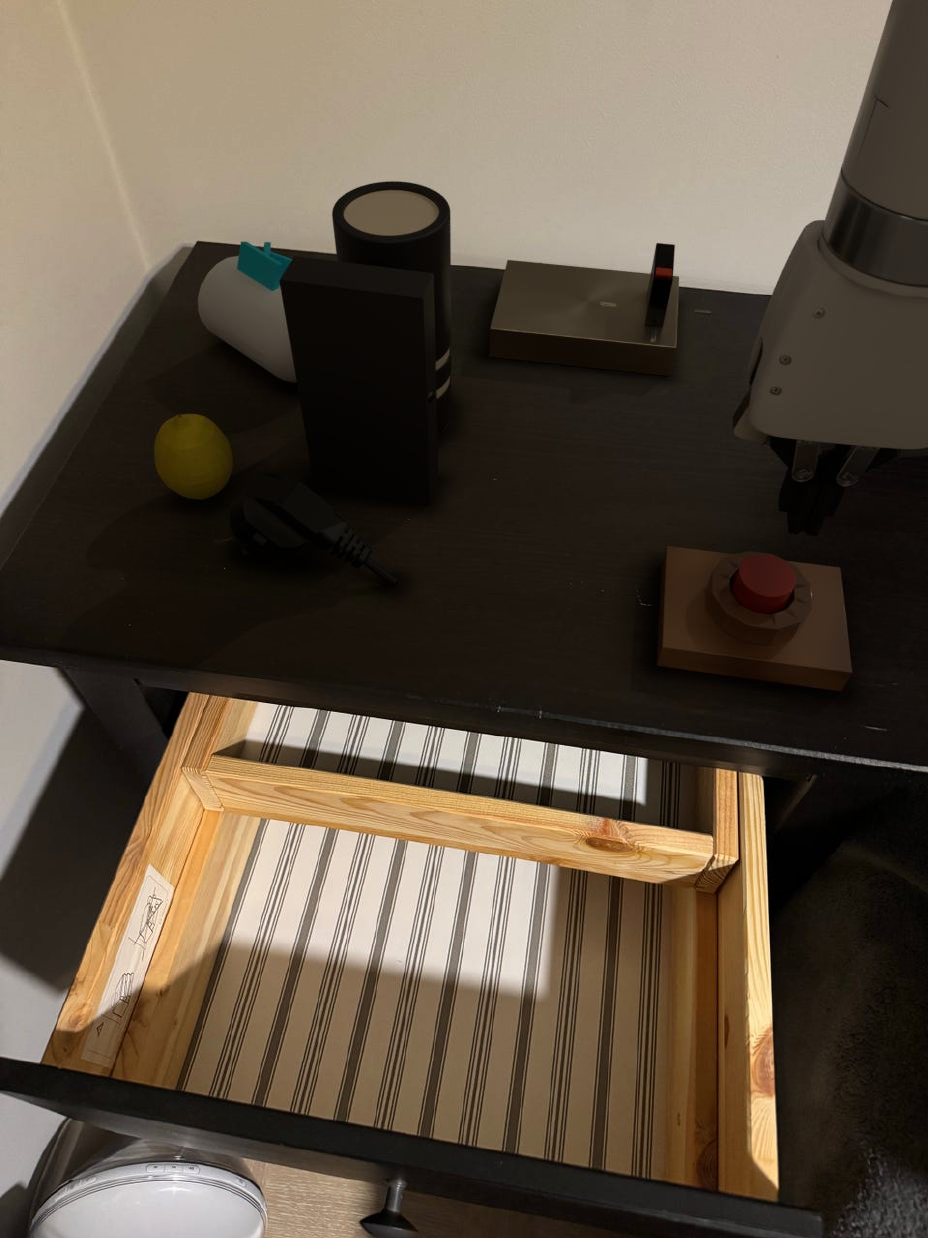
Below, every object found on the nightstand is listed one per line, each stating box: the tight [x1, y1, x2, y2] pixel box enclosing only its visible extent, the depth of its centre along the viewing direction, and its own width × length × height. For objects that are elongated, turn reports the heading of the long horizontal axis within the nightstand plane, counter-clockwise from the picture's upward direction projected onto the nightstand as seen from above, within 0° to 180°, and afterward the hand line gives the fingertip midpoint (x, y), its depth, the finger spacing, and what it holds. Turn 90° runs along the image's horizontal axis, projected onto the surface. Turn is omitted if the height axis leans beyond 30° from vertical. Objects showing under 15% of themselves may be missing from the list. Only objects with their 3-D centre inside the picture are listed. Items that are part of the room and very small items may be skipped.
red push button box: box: [656, 545, 853, 692], centre depth 61 cm, size 12×9×4 cm
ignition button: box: [733, 555, 796, 614], centre depth 59 cm, size 4×4×2 cm
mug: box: [197, 240, 297, 383], centre depth 79 cm, size 12×9×12 cm
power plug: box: [229, 472, 398, 587], centre depth 65 cm, size 6×8×12 cm
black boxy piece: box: [645, 242, 676, 326], centre depth 78 cm, size 6×2×5 cm, turn 170°
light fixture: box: [279, 180, 453, 507], centre depth 67 cm, size 10×14×18 cm
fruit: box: [153, 413, 234, 501], centre depth 67 cm, size 6×6×8 cm
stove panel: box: [488, 259, 712, 377], centre depth 82 cm, size 19×11×3 cm, turn 80°
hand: (800, 517), depth 54 cm, fingers closed
